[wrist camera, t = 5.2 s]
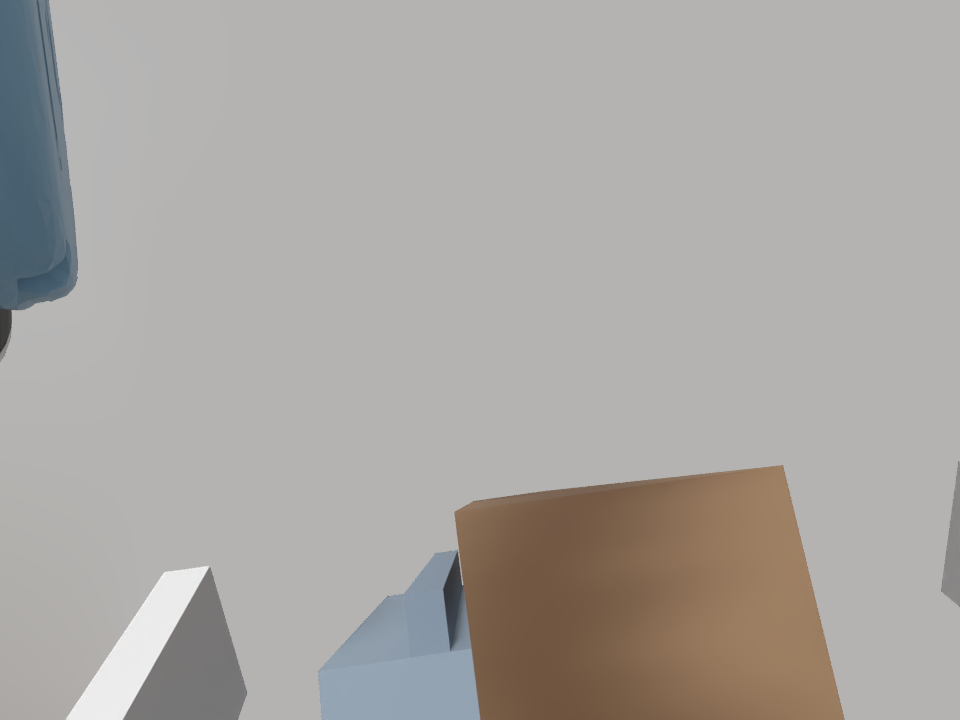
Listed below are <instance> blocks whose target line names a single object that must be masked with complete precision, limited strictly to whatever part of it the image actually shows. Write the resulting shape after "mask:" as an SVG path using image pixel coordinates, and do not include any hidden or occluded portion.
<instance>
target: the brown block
mask: <svg viewBox="0 0 960 720" xmlns="http://www.w3.org/2000/svg"><path fill="white" fill-rule="evenodd" d="M455 521H456V528H457V536H458V544H459V553H460V561H461V568H462V577H463V584H464V593H465V601H466V609H467V617H468V625H469V633H470V641H471V649H472V657H473V665H474V673H475V681H476V689H477V697H478V705H479V713H480V720H844V715H843V711H842V707H841V703H840V699H839V695H838V691H837V687H836V683H835V678H834V674H833V670H832V666H831V662H830V658H829V653H828V649H827V645H826V641H825V637H824V634H823V629H822V625H821V620H820V616H819V613H818V608H817V604H816V600H815V596H814V592H813V587H812V583H811V579H810V575H809V571H808V567H807V563H806V558H805V554H804V550H803V546H802V542H801V538H800V534H799V530H798V526H797V521H796V517H795V513H794V509H793V505H792V501H791V497H790V493H789V488H788V484H787V480H786V476H785V472H784V468H783V466H773V467H763V468H754V469H745V470H736V471H727V472H717V473H708V474H699V475H690V476H680V477H671V478H662V479H652V480H643V481H635V482H625V483H615V484H606V485H597V486H588V487H579V488H569V489H561V490H551V491H542V492H536V493H528V494H521V495H514V496H507V497H500V498H493V499H486V500H479V501H473V502H471V503H470V504H468V505H466V506H464V507H462V508H461V509H459V510H457V511H455Z"/></svg>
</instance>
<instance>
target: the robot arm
mask: <svg viewBox="0 0 960 720" xmlns="http://www.w3.org/2000/svg"><path fill="white" fill-rule="evenodd" d="M77 271H78V260H77V247H76V235H75V221H74V210H73V201H72V192H71V186H70V179H69V169H68V160H67V150H66V141H65V135H64V124H63V113H62V102H61V94H60V86H59V78H58V70H57V62H56V54H55V46H54V38H53V30H52V22H51V15H50V7H49V0H0V361H1V360H2V359H3V357H4V356H5V353H6V350H7V347H8V344H9V342H10V339H11V323H12V318H11V317H12V313H11V310H24V309H27V308H29V307H31V306H33V305H34V304H35V303H39V302H45V301H53V300H56V299H59V298H61V297H64V296H66V295H67V294H68V293H69V292H70V291H71V290H72V289H73V288H74V287H75V285H76V282H77V278H78V277H77ZM941 591H942V592H943V593H944V594H945V595H946V596H947V597H949V598H950V599H951V600H952V601H954V602H955V603H956V604H957V605H958V606H959V607H960V461H958V469H957V477H956V484H955V491H954V499H953V507H952V513H951V521H950V528H949V536H948V543H947V551H946V558H945V565H944V573H943V580H942V588H941ZM246 695H247V690H246V687H245V684H244V680H243V677H242V674H241V670H240V667H239V664H238V660H237V657H236V653H235V650H234V647H233V643H232V639H231V636H230V633H229V629H228V626H227V623H226V619H225V616H224V612H223V609H222V606H221V602H220V599H219V595H218V592H217V589H216V585H215V582H214V578H213V575H212V572H211V568H210V566H205V567H198V568H191V569H184V570H177V571H170V572H164V574H163V575H162V577H161V578H160V580H159V581H158V583H157V584H156V586H155V587H154V588H153V590H152V591H151V593H150V594H149V596H148V597H147V599H146V600H145V602H144V603H143V605H142V606H141V608H140V609H139V611H138V613H137V614H136V615H135V617H134V618H133V620H132V621H131V623H130V624H129V626H128V627H127V629H126V630H125V632H124V633H123V635H122V636H121V638H120V639H119V641H118V642H117V644H116V645H115V647H114V648H113V650H112V651H111V653H110V654H109V656H108V657H107V659H106V660H105V662H104V663H103V665H102V666H101V668H100V669H99V671H98V672H97V674H96V675H95V677H94V678H93V680H92V681H91V683H90V684H89V686H88V687H87V688H86V690H85V691H84V693H83V694H82V696H81V697H80V699H79V700H78V702H77V703H76V705H75V707H74V708H73V710H72V711H71V712H70V714H69V715H68V717H67V718H66V720H238V717H239V714H240V712H241V709H242V706H243V703H244V701H245V698H246Z"/></svg>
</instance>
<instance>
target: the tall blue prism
mask: <svg viewBox="0 0 960 720" xmlns="http://www.w3.org/2000/svg"><path fill="white" fill-rule="evenodd" d="M318 677H319V689H320V703H321V717H322V720H480V713H479V705H478V697H477V689H476V681H475V673H474V665H473V657H472V649H471V641H470V633H469V625H468V617H467V609H466V601H465V593H464V585H462V581H461V573H460V565H459V557H458V551H457V550H456V551H449V552H442V553H435V555H434V556H433V557H432V558H431V560H430V561H429V563H428V564H427V565H426V566H425V568H424V569H423V570H422V571H421V573H420V574H419V575H418V577H417V578H416V579H415V581H414V582H413V583H412V585H411V586H410V587H409V589H408V590H407V591H406V592H405V594H400V595H394V596H387V597H386V598H385V599H384V600H383V602H382V603H381V604H380V605H379V606H378V607H377V608H376V609H375V610H374V612H372V614H371V615H370V616H369V617H368V618H367V619H366V620H365V621H364V622H363V623H362V624H361V625H360V627H359V628H358V629H357V630H356V631H355V632H354V633H353V634H352V635H351V636H350V637H349V638H348V640H347V641H346V642H345V643H344V644H343V645H342V646H341V647H340V648H339V649H338V650H337V652H336V653H335V654H334V655H333V656H332V657H331V658H330V659H329V660H328V661H327V663H325V665H324V666H323V667H322V668H321V669H320V670H319V671H318Z"/></svg>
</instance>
